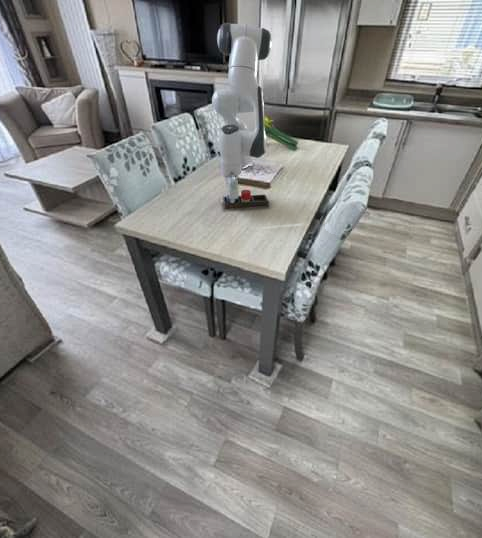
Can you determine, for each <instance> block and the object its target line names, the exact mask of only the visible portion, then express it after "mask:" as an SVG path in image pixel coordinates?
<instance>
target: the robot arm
mask: <svg viewBox="0 0 482 538" xmlns="http://www.w3.org/2000/svg"><path fill="white" fill-rule="evenodd" d="M216 35H217V36H216V42H217V47H218V51H219V52H220V53H221V54H223V55H225V56H226V57H228V56H229V59H228V72H227V73H228V74H227V76H228V85H229V87H230V88H222V89H218V90H215V91H214V92H213V94H212V97H211V105H212V107H213V109H214V111H215V112H216V113H217V114H219V115H220V116H221V117H222V119H223V121H224V123H225V125H223V126H222V127H220V130H219V138H218V140H219V141H218V142H219V143H218V148H219V152H218V155H220V158H219V170H220V171H219V173H220V174H221V175H222V176H223V178H224V182H225V185H226V189H227V193H228V194H227V195H229V198H230V202H231V203H234V202H235V201H234V199H237V198H238V196H239V183H238V178H239V176H240V175H241V174H242V169H243V167H245V166H246V165H248V164H249V163H251V162H252V158H256V159H259V158H261V157H262V156H264V155H265V154H266V153H267V150H268V146H267V145H268V138H267V136H266V133H267V130H266V129H265V117H266V108H265V107H266V106H265V97H264V91H263V88H262V87H261V86H260V85H259V83H258V77H257V76H258V75H257V74H258V61H263V60H266V59H268V57H269V54H270V53H271V51H272V44H273V42H272V40H273V39H272V34H271V32H270V30H268V29H266V28H264V27H261V28H260V27H258V26H255V25H250V24H247V23H246V24H241V23H231V22H224V23H222V24H221V25H220V26H219V29H218V31H217V34H216ZM244 113H245V114H246V113H253V114H254V115H253V116H254V117H253V118H254V130H248V125H247V123H246V122H244V120H241V119H240V118H238V117H237V114H244ZM266 138H267V139H266ZM243 170H244V169H243Z"/></svg>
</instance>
